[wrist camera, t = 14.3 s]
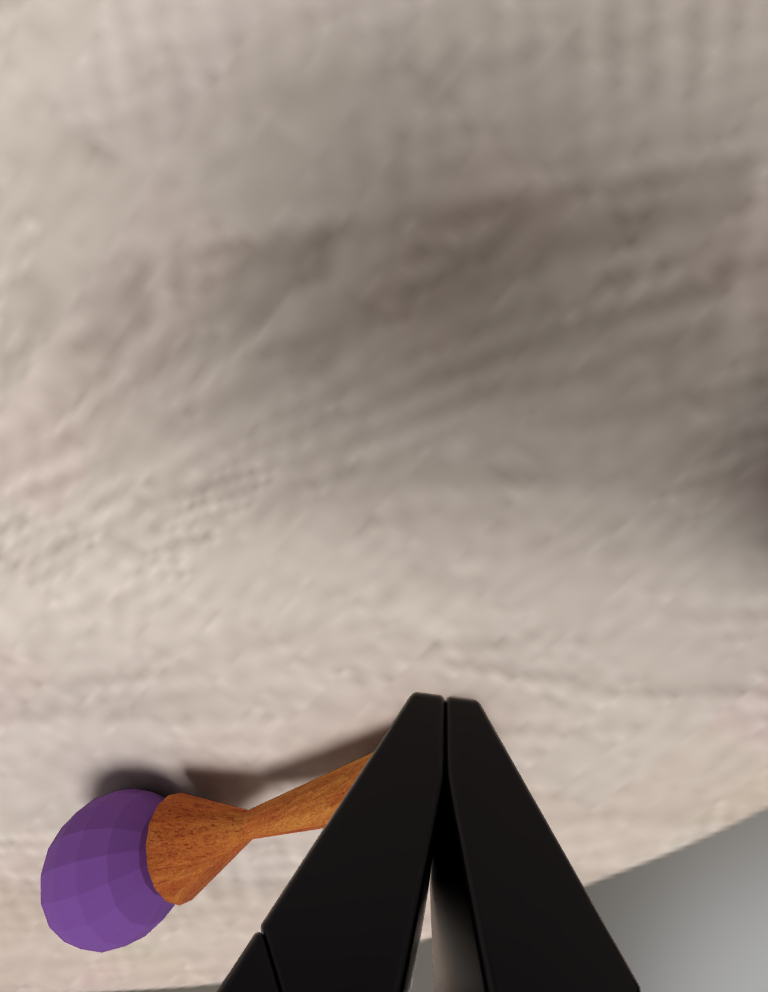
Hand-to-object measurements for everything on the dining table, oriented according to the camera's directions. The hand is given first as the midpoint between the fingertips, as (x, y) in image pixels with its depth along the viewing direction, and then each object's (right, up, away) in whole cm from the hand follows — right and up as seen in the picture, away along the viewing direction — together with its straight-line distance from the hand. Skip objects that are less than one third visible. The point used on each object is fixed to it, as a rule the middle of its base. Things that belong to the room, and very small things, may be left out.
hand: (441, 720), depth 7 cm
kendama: (-6, -10, +19) cm, 22 cm away
